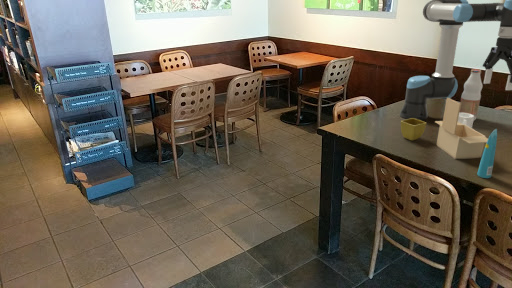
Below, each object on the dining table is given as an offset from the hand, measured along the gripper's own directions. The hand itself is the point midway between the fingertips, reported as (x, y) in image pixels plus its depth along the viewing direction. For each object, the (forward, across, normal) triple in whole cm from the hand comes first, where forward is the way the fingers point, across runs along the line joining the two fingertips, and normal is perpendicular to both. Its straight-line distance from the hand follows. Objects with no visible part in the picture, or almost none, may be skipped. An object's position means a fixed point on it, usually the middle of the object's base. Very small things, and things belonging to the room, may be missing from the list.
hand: (497, 86), depth 167 cm
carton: (+29, +2, -15) cm, 33 cm away
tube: (+30, +26, -20) cm, 44 cm away
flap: (+19, +2, -21) cm, 29 cm away
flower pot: (+29, -17, -27) cm, 43 cm away
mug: (+29, -18, +1) cm, 34 cm away
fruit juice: (+29, -40, +19) cm, 53 cm away
